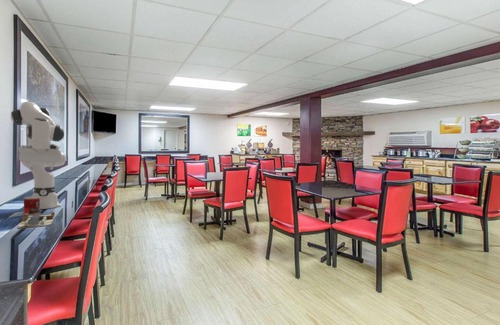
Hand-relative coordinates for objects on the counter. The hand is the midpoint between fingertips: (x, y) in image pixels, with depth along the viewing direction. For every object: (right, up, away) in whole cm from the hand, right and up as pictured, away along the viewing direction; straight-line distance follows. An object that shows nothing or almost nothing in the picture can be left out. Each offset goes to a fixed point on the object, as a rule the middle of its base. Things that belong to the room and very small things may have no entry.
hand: (41, 169), depth 162 cm
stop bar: (+6, -29, -12) cm, 31 cm away
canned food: (-12, -29, +9) cm, 32 cm away
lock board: (+3, -30, -7) cm, 30 cm away
